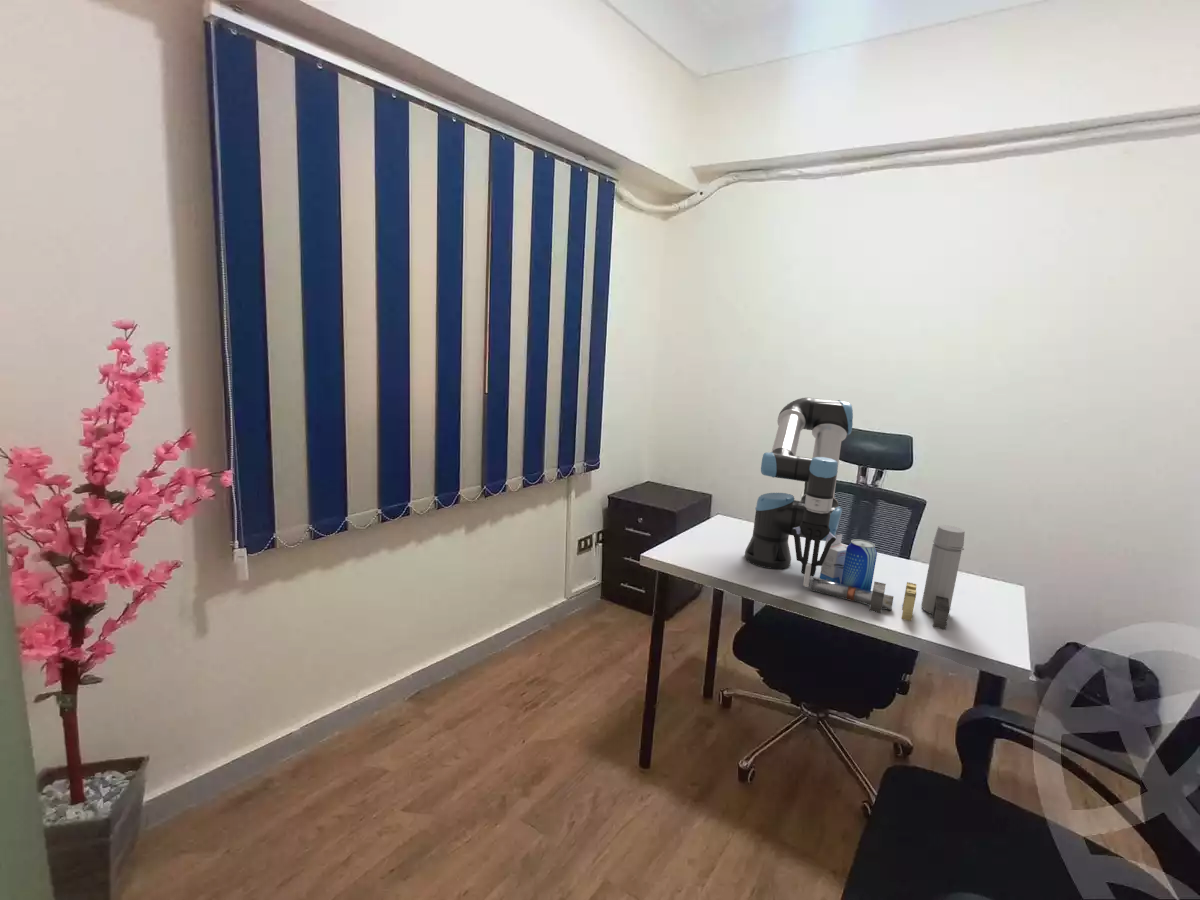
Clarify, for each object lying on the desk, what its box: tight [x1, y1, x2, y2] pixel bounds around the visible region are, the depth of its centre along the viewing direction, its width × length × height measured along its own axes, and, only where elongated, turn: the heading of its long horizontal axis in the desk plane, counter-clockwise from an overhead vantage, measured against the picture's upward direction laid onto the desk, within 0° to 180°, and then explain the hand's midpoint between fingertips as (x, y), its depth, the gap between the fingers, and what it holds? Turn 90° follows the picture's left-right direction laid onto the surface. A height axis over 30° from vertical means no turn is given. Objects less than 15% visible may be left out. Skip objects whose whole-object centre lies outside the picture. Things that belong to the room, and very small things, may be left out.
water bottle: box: [921, 524, 965, 615], centre depth 170 cm, size 9×8×25 cm
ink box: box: [819, 533, 848, 584], centre depth 187 cm, size 8×5×15 cm, turn 124°
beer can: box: [841, 538, 878, 591], centre depth 180 cm, size 8×8×16 cm
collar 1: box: [869, 581, 887, 614], centre depth 172 cm, size 3×8×6 cm, turn 152°
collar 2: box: [931, 596, 951, 631], centre depth 165 cm, size 3×8×6 cm, turn 152°
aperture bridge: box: [901, 581, 917, 622], centre depth 168 cm, size 2×8×8 cm, turn 152°
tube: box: [810, 576, 895, 611], centre depth 176 cm, size 22×4×4 cm, turn 62°
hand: (806, 584), depth 180 cm, fingers closed
